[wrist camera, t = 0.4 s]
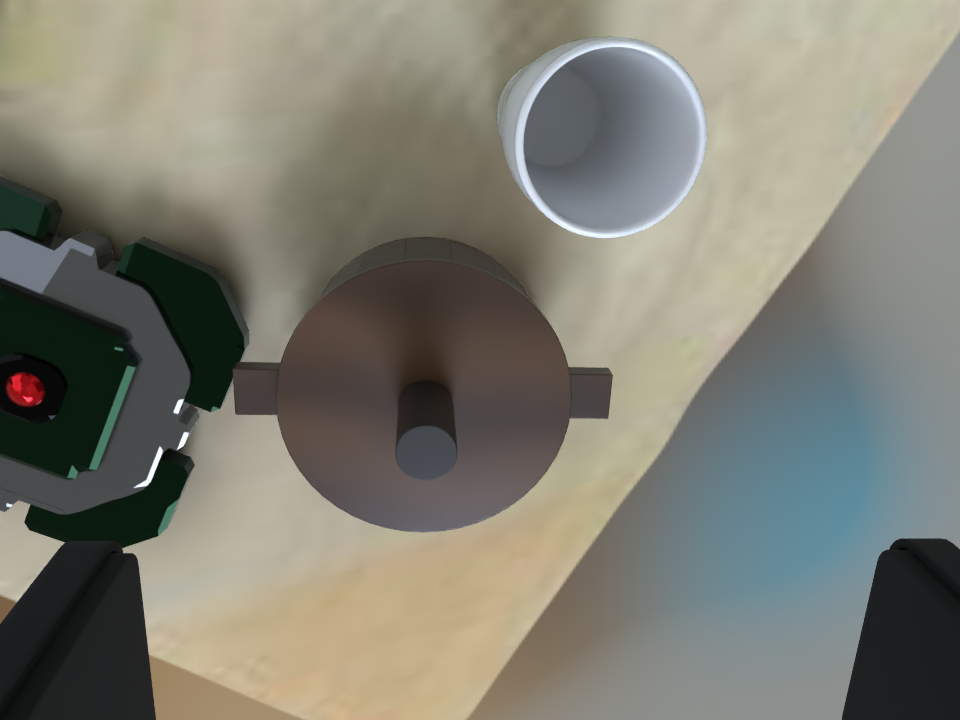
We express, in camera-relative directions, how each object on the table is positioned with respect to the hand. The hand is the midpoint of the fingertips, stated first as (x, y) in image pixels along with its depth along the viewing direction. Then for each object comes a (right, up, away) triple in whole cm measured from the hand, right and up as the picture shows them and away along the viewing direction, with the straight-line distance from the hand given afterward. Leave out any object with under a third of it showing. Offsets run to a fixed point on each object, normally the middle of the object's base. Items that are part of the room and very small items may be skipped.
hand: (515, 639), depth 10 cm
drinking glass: (+3, +16, +31) cm, 35 cm away
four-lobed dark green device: (-23, +3, +34) cm, 41 cm away
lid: (-3, +2, +28) cm, 29 cm away
